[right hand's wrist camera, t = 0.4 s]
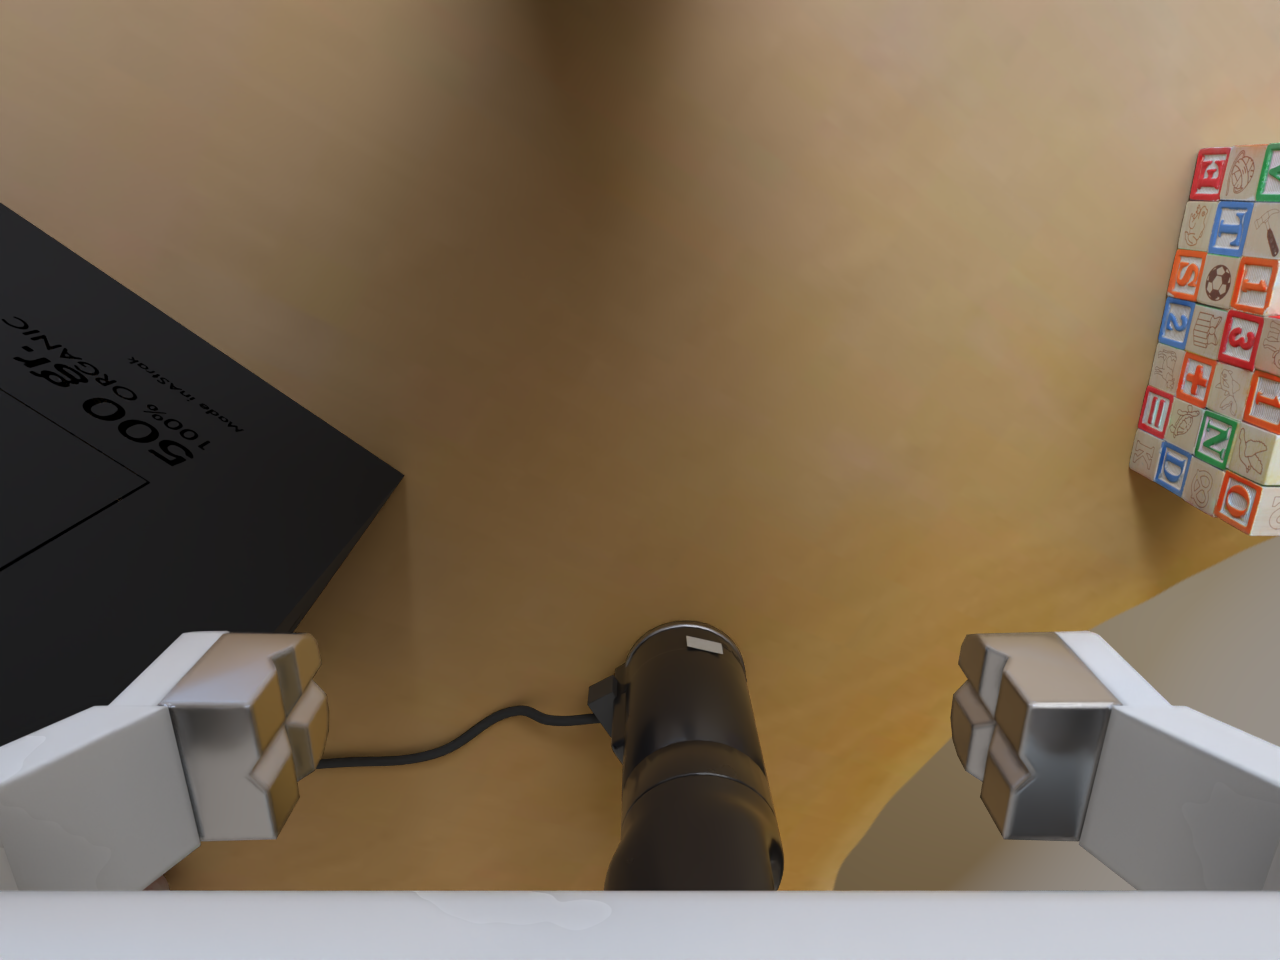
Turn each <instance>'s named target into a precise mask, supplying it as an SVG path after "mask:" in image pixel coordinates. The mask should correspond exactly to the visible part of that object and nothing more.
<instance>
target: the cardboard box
mask: <svg viewBox="0 0 1280 960" xmlns="http://www.w3.org/2000/svg"><path fill="white" fill-rule="evenodd" d="M40 338H42V339H40ZM46 343H49V345H48V346H47V347H46V345H45V344H46ZM50 346H53V349H51V350H50ZM61 352H62V357H61V358H60V355H61ZM67 356H68V358H67ZM70 358H74V359H70ZM68 366H69V367H68ZM83 366H85V367H83ZM79 368H80V369H81V372H80V371H79ZM60 372H63V373H65V374H66V375H67V376H65V375H63V374H62V373H60ZM79 372H80V373H81V374H82V375H83V376H85V377H86V378H87V379H86V378H83V377H81V375H80V374H79ZM89 373H92V374H91V375H89ZM95 373H96V374H97V375H95V376H94V374H95ZM57 375H58V376H60V378H61V379H64V378H65V379H66V380H67V381H70V380H71V379H75V380H76V382H77V384H75V382H74V381H71V382H70V384H69V387H66V383H67V381H64V382H63V381H62V380H61V379H60V378H59V377H57ZM98 377H99V378H100V379H98V382H97V381H96V380H95V378H98ZM103 380H108V381H109V382H111V384H109V383H107V382H105V381H103ZM57 382H61V383H62V384H63V385H60V384H59V383H57ZM100 382H102V383H103V384H102V385H101V384H100ZM114 386H116V389H117V392H116V393H117V394H120V395H118V396H117V395H116V394H115V393H114ZM0 388H1V389H2V390H4V391H6V392H7V393H9V394H10V395H12V396H14V397H15V398H17V399H18V400H20V401H22V402H23V403H25V405H24V404H22V403H21V402H19V401H17V400H16V399H14V398H13V397H11V396H9V395H8V394H6V393H5V392H3V391H1V390H0V747H1V746H3V745H6V744H8V743H10V742H13V741H15V740H17V739H19V738H22V737H24V736H26V735H29V734H31V733H33V732H36V731H38V730H40V729H42V728H45V727H47V726H49V725H52V724H54V723H56V722H59V721H61V720H63V719H66V718H68V717H70V716H72V715H75V714H77V713H79V712H82V711H84V710H86V709H89V708H91V707H93V706H108V705H109V704H110V703H111V702H112V701H113V700H115V699H116V698H117V697H118V696H119V695H120V694H121V693H122V692H123V691H124V690H125V689H126V688H127V687H128V686H129V685H130V684H131V683H132V682H133V681H134V680H135V679H136V678H137V677H138V676H139V675H140V674H141V673H142V672H143V671H144V670H145V669H147V668H148V667H149V666H150V665H151V664H152V663H153V662H154V661H155V660H156V659H157V658H158V657H159V656H160V655H161V654H162V653H163V652H164V651H165V650H166V649H167V648H168V647H169V646H170V645H171V644H172V643H173V642H174V641H175V640H176V639H177V638H178V637H180V636H181V635H182V634H183V633H188V632H196V631H229V632H283V633H293V632H294V630H295V629H296V627H297V626H298V625H299V623H300V622H301V620H302V619H303V617H304V616H305V615H306V613H307V612H308V610H309V609H310V608H311V606H312V605H313V603H314V602H315V601H316V599H317V598H318V596H319V595H320V594H321V592H322V591H323V589H324V588H325V587H326V585H327V584H328V582H329V581H330V579H331V578H332V577H333V575H334V574H335V572H336V571H337V570H338V568H339V567H340V565H341V564H342V563H343V561H344V560H345V558H346V557H347V556H348V554H349V553H350V551H351V550H352V549H353V547H354V546H355V544H356V543H357V541H358V540H359V539H360V537H361V536H362V534H363V533H364V532H365V530H366V529H367V527H368V526H369V525H370V523H371V522H372V520H373V519H374V518H375V516H376V515H377V513H378V512H379V511H380V509H381V508H382V506H383V505H384V503H385V502H386V501H387V499H388V498H389V496H390V495H391V494H392V492H393V491H394V489H395V488H396V487H397V485H398V484H399V482H400V481H401V480H402V478H403V477H404V475H403V474H401V473H400V472H399V471H397V470H396V469H394V468H393V467H391V466H390V465H388V464H387V463H385V462H384V461H382V460H381V459H379V458H378V457H376V456H375V455H373V454H372V453H370V452H369V451H367V450H366V449H364V448H363V447H361V446H360V445H359V444H357V443H356V442H354V441H353V440H351V439H350V438H348V437H347V436H345V435H344V434H342V433H341V432H339V431H338V430H336V429H335V428H333V427H332V426H330V425H329V424H327V423H326V422H324V421H323V420H321V419H320V418H319V417H317V416H316V415H314V414H313V413H311V412H310V411H308V410H307V409H305V408H304V407H302V406H301V405H299V404H298V403H296V402H295V401H293V400H292V399H290V398H289V397H287V396H286V395H284V394H283V393H281V392H280V391H279V390H277V389H276V388H274V387H273V386H271V385H270V384H268V383H267V382H265V381H264V380H262V379H261V378H259V377H258V376H256V375H255V374H253V373H252V372H250V371H249V370H247V369H246V368H244V367H243V366H241V365H240V364H239V363H237V362H236V361H234V360H233V359H231V358H230V357H228V356H227V355H225V354H224V353H222V352H221V351H219V350H218V349H216V348H215V347H213V346H212V345H210V344H209V343H207V342H206V341H204V340H203V339H201V338H200V337H199V336H197V335H196V334H194V333H193V332H191V331H190V330H188V329H187V328H185V327H184V326H182V325H181V324H179V323H178V322H176V321H175V320H173V319H172V318H170V317H169V316H167V315H166V314H164V313H163V312H161V311H160V310H159V309H157V308H156V307H154V306H153V305H151V304H150V303H148V302H147V301H145V300H144V299H142V298H141V297H139V296H138V295H136V294H135V293H133V292H132V291H130V290H129V289H127V288H126V287H124V286H123V285H121V284H120V283H119V282H117V281H116V280H114V279H113V278H111V277H110V276H108V275H107V274H105V273H104V272H102V271H101V270H99V269H98V268H96V267H95V266H93V265H92V264H90V263H89V262H87V261H86V260H84V259H83V258H81V257H80V256H79V255H77V254H76V253H74V252H73V251H71V250H70V249H68V248H67V247H65V246H64V245H62V244H61V243H59V242H58V241H56V240H55V239H53V238H52V237H50V236H49V235H47V234H46V233H44V232H43V231H41V230H40V229H39V228H37V227H36V226H34V225H33V224H31V223H30V222H28V221H27V220H25V219H24V218H22V217H21V216H19V215H18V214H16V213H15V212H13V211H12V210H10V209H9V208H7V207H6V206H4V205H3V204H1V203H0ZM122 397H125V399H123V398H122ZM93 398H98V399H99V400H100V401H101V403H99V404H95V403H94V402H93ZM100 398H104V399H103V400H101V399H100ZM131 398H134V399H135V400H126V399H131ZM104 400H107V403H103V402H104ZM95 401H96V402H98V401H97V400H95ZM110 403H112V404H110ZM147 406H148V407H149V409H148V408H147ZM30 408H33V409H34V410H36V411H38V412H39V413H41V414H42V415H44V416H45V417H47V418H49V419H50V420H52V421H53V422H55V423H57V424H58V425H60V426H61V427H63V428H65V429H66V430H68V431H69V432H70V433H68V432H67V431H65V430H64V429H62V428H60V427H59V426H57V425H56V424H54V423H52V422H51V421H49V420H48V419H46V418H44V417H43V416H41V415H40V414H38V413H36V412H35V411H33V410H32V409H30ZM89 413H90V414H91V415H92V416H91V415H90V414H89ZM97 418H98V419H97ZM75 435H76V436H77V437H79V438H81V439H82V440H84V441H85V442H87V443H89V444H90V445H92V446H93V447H95V448H97V450H96V449H94V448H92V447H91V446H89V445H88V444H86V443H84V442H83V441H81V440H80V439H78V438H76V437H75ZM126 437H127V438H126ZM131 440H133V441H131ZM102 452H103V453H105V454H106V455H108V456H109V457H111V458H113V459H114V460H112V459H110V458H108V457H107V456H105V455H104V454H102ZM152 453H153V454H154V455H153V454H152ZM124 467H127V468H129V469H130V470H132V471H133V472H135V473H137V474H134V473H132V472H131V471H129V470H128V469H126V468H124ZM120 497H122V500H121V501H119V502H117V501H115V500H117V499H118V498H120Z"/></svg>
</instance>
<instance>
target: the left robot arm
mask: <svg viewBox="0 0 1280 960" xmlns="http://www.w3.org/2000/svg"><path fill="white" fill-rule="evenodd" d="M588 706H589V707H590V709H591V710H592V712H593V714H584V715H574V716H553V715H547V714H544V713H541V712H539V711H537V710H536V709H534V708H531V707H528V706H515V707H509V708H506V709H503V710H500V711H498V712H495V713H493V714H491V715H490V716H488V717H486V718H485V719H483V720H482V721H480V722H479V723H477V724H476V725H475V726H473V727H472V728H471V729H469V730H468V731H467V732H465V733H464V734H462V735H461V736H460V737H458V738H456V739H455V740H453V741H451V742H450V743H448V744H446V745H443V746H441V747H439V748H436V749H433V750H429V751H425V752H421V753H416V754H410V755H402V756H386V757H349V758H333V759H320V761H319V763H318V765H317V767H316V769H322V768H336V767H357V766H392V765H404V764H411V763H418V762H423V761H427V760H431V759H435V758H438V757H441V756H444V755H446V754H448V753H450V752H453V751H454V750H456V749H458V748H460V747H461V746H463V745H464V744H466V743H467V742H469V741H470V740H471V739H473V738H474V737H476V736H477V735H478V734H480V733H481V732H482V731H484V730H485V729H487V728H488V727H490V726H491V725H493V724H494V723H496V722H498V721H500V720H502V719H505V718H508V717H511V716H517V715H523V716H527V717H529V718H531V719H533V720H535V721H537V722H539V723H542V724H545V725H552V726H573V725H583V724H593V723H601V724H602V726H603V727H604V728H605V730H606V731H607V733H608V734H609V735H610V737H611V747H612V750H613V752H614V754H615V755H616V756H617V758H618V759H619V761H620V762H621V763H622V765H623V775H622V814H621V842H620V844H619V846H618V848H617V849H616V852H615V854H614V855H613V857H612V860H611V862H610V865H609V868H608V871H607V874H606V879H605V885H604V891H777V890H778V888H779V885H780V883H781V879H782V876H783V870H784V854H783V848H782V843H781V838H780V833H779V829H778V824H777V819H776V815H775V810H774V805H773V801H772V796H771V792H770V787H769V783H768V778H767V774H766V769H765V765H764V760H763V755H762V751H761V746H760V742H759V737H758V732H757V728H756V723H755V719H754V714H753V709H752V705H751V700H750V696H749V691H748V687H747V679H746V675H745V667H744V662H743V659H742V656H741V653H740V651H739V649H738V647H737V646H736V645H735V643H734V642H733V641H732V640H731V639H730V638H729V637H728V636H727V635H726V634H725V633H723V632H722V631H720V630H719V629H717V628H715V627H713V626H710V625H708V624H705V623H701V622H696V621H676V622H670V623H666V624H663V625H660V626H658V627H656V628H654V629H652V630H650V631H649V632H647V633H646V634H644V635H643V636H642V637H641V638H640V639H639V640H638V641H637V642H636V643H635V645H634V646H633V647H632V649H631V651H630V653H629V655H628V657H627V660H626V663H624V664H623V665H622V666H620V667H618V668H616V669H615V676H614V675H612V676H610V677H608V678H606V679H604V680H602V681H600V682H598V683H596V684H594V685H592V686H590V687H589V694H588Z"/></svg>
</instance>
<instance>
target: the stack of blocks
mask: <svg viewBox="0 0 1280 960" xmlns="http://www.w3.org/2000/svg"><path fill="white" fill-rule="evenodd" d="M1167 295H1168V298H1167V300H1166V305H1165V310H1164V314H1163V319H1162V324H1161V328H1160V333H1159V337H1158V341H1159V342H1158V344H1157V348H1156V353H1155V357H1154V362H1153V366H1152V371H1151V375H1150V380H1149V385H1148V386H1147V389H1146V393H1145V397H1144V401H1143V406H1142V411H1141V415H1140V419H1139V423H1138V430H1137V432H1136V436H1135V440H1134V444H1133V449H1132V454H1131V458H1130V463H1129V468H1130V469H1132V470H1134V471H1135V472H1137V473H1139V474H1141V475H1143V476H1144V477H1146V478H1148V479H1149V480H1151V481H1153V482H1156V483H1157V484H1159V485H1161V486H1162V487H1164V488H1166V489H1168V490H1169V491H1171V492H1173V493H1174V494H1176V495H1177V496H1179V497H1181V498H1183V500H1184V501H1186V502H1188V503H1190V504H1191V505H1192V506H1195V507H1196V508H1198V509H1199V510H1201V511H1203V512H1204V513H1206V514H1208V515H1210V516H1212V517H1218V518H1220V519H1221V520H1223V521H1225V522H1226V523H1228V524H1230V525H1231V526H1233V527H1235V528H1237V529H1238V530H1240V531H1242V532H1244V533H1245V534H1247V535H1250V536H1280V143H1270V144H1262V145H1241V146H1233V147H1211V148H1203V149H1200V150H1199V153H1198V159H1197V164H1196V169H1195V174H1194V179H1193V183H1192V188H1191V194H1190V201H1188V202H1187V205H1186V209H1185V214H1184V218H1183V223H1182V227H1181V232H1180V237H1179V242H1178V250H1177V252H1176V255H1175V260H1174V264H1173V269H1172V273H1171V277H1170V282H1169V287H1168V291H1167Z"/></svg>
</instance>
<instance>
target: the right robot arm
mask: <svg viewBox="0 0 1280 960" xmlns="http://www.w3.org/2000/svg"><path fill="white" fill-rule="evenodd" d="M321 665H322V662H321V657H320V652H319V647H318V642H317V640H316V639H315V638H314V637H313V636H312V635H311V634H310V633H283V632H229V631H196V632H188V633H183V634H182V635H181V636H180V637H178V638H177V639H176V640H175V641H174V642H173V643H172V644H171V645H170V646H169V647H168V648H167V649H166V650H165V651H164V652H163V653H162V654H161V655H160V656H159V657H158V658H157V659H156V660H155V661H154V662H153V663H152V664H151V665H150V666H149V667H148V668H147V669H145V670H144V671H143V672H142V673H141V674H140V675H139V676H138V677H137V678H136V679H135V680H134V681H133V682H132V683H131V684H130V685H129V686H128V687H127V688H126V689H125V690H124V691H123V692H122V693H121V694H120V695H119V696H118V697H117V698H116V699H115V700H113V701H112V702H111V703H110V704H109V705H108V706H93V707H91V708H89V709H86V710H84V711H82V712H79V713H77V714H75V715H72V716H70V717H68V718H66V719H63V720H61V721H59V722H56V723H54V724H52V725H49V726H47V727H45V728H42V729H40V730H38V731H36V732H33V733H31V734H29V735H26V736H24V737H22V738H19V739H17V740H15V741H13V742H10V743H8V744H6V745H3V746H1V747H0V960H1280V747H1279V746H1276V745H1274V744H1272V743H1269V742H1267V741H1265V740H1263V739H1260V738H1258V737H1256V736H1253V735H1251V734H1249V733H1247V732H1244V731H1242V730H1240V729H1237V728H1235V727H1233V726H1230V725H1228V724H1226V723H1224V722H1221V721H1219V720H1217V719H1214V718H1212V717H1210V716H1208V715H1205V714H1203V713H1201V712H1198V711H1196V710H1194V709H1191V708H1189V707H1187V706H1172V705H1171V704H1170V703H1169V702H1168V701H1167V700H1166V699H1165V698H1163V697H1162V696H1161V695H1160V694H1159V693H1158V692H1157V691H1156V690H1155V689H1154V688H1153V687H1152V686H1151V685H1150V684H1149V683H1148V682H1147V681H1146V680H1145V679H1144V678H1143V677H1142V676H1141V675H1140V674H1139V673H1138V672H1137V671H1136V670H1135V669H1134V668H1133V667H1132V666H1131V665H1130V664H1129V663H1127V662H1126V661H1125V660H1124V659H1123V658H1122V657H1121V656H1120V655H1119V654H1118V653H1117V652H1116V651H1115V650H1114V649H1113V648H1112V647H1111V646H1110V645H1109V644H1108V643H1107V642H1106V641H1105V640H1104V639H1103V638H1102V637H1101V636H1100V635H1099V634H1096V633H1093V632H1090V631H1065V632H1028V633H988V634H969V635H966V637H965V639H964V641H963V644H962V646H961V650H960V656H959V662H958V665H959V666H960V668H961V669H962V671H963V672H964V674H965V675H966V677H967V678H968V680H967V681H966V682H965V683H964V684H963V685H962V686H961V687H960V688H959V689H958V690H957V691H956V692H955V693H954V694H953V701H952V709H951V728H952V738H953V743H954V746H955V749H956V752H957V755H958V757H959V759H960V761H961V763H962V765H963V767H964V769H965V771H967V772H968V773H970V774H971V775H973V776H974V777H976V778H978V779H979V780H981V781H982V782H983V784H982V789H981V795H980V798H981V799H982V801H983V803H984V805H985V807H986V808H987V810H988V812H989V814H990V815H991V817H992V819H993V821H994V822H995V824H996V826H997V828H998V830H999V831H1000V833H1001V835H1002V836H1003V838H1004V839H1013V840H1050V841H1080V842H1079V845H1080V846H1081V847H1083V848H1084V849H1085V850H1086V851H1088V852H1089V853H1090V854H1092V855H1093V856H1094V857H1095V858H1097V859H1098V860H1099V861H1101V862H1102V863H1103V864H1104V865H1106V866H1107V867H1108V868H1110V869H1111V870H1112V871H1113V872H1115V873H1116V874H1117V875H1119V876H1120V877H1121V878H1122V879H1124V880H1125V881H1126V882H1128V883H1129V884H1130V885H1131V886H1133V887H1134V888H1135V889H1137V890H1138V891H142V890H144V889H145V888H146V887H147V886H149V885H150V884H151V883H153V882H154V881H155V880H157V879H158V878H159V877H160V876H162V875H163V874H164V873H166V872H167V871H168V870H169V869H171V868H172V867H173V866H175V865H176V864H177V863H178V862H180V861H181V860H182V859H184V858H185V857H186V856H187V855H189V854H190V853H191V852H193V851H194V850H195V849H196V848H198V847H199V846H200V845H201V842H200V841H229V840H264V839H277V837H278V835H279V833H280V831H281V830H282V828H283V826H284V824H285V823H286V821H287V819H288V817H289V815H290V814H291V812H292V810H293V808H294V807H295V805H296V803H297V801H298V799H299V798H300V795H299V789H298V783H297V782H298V781H299V780H301V779H302V778H304V777H306V776H307V775H309V774H310V773H312V772H313V771H315V769H316V767H317V765H318V763H319V761H320V759H321V757H322V755H323V753H324V749H325V745H326V741H327V736H328V732H329V707H328V700H327V694H326V693H325V692H324V691H323V690H322V689H321V688H320V687H319V686H318V685H317V684H316V683H315V682H314V681H313V680H312V678H313V677H314V675H315V674H316V672H317V671H318V669H319V668H320V666H321Z"/></svg>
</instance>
